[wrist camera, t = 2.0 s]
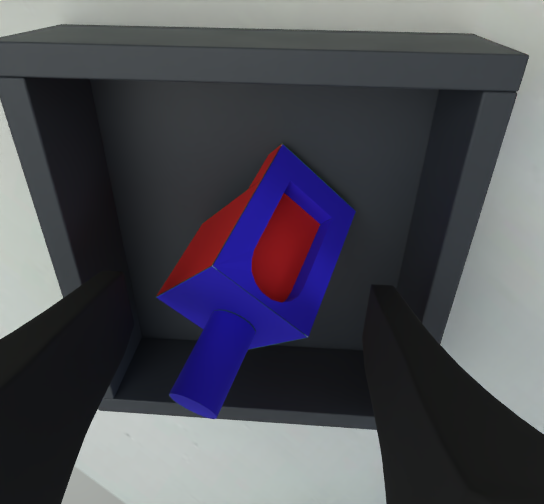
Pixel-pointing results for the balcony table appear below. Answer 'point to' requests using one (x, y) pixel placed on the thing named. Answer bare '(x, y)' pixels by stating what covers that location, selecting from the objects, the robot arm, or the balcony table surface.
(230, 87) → the tote
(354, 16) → the balcony table surface
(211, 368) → the toy building block
